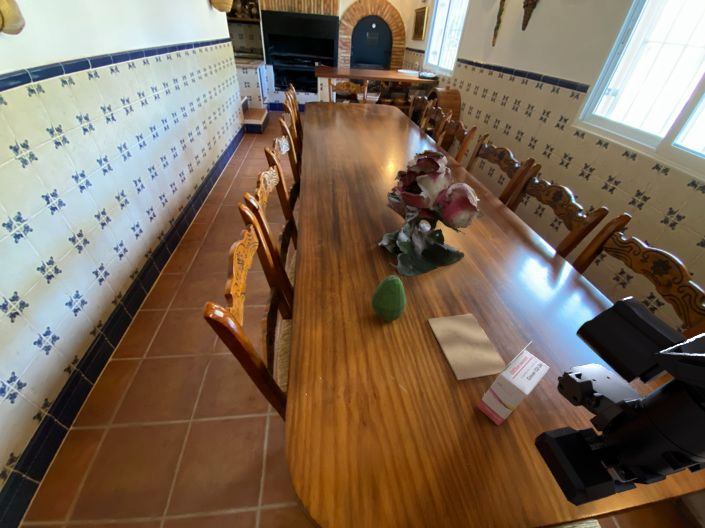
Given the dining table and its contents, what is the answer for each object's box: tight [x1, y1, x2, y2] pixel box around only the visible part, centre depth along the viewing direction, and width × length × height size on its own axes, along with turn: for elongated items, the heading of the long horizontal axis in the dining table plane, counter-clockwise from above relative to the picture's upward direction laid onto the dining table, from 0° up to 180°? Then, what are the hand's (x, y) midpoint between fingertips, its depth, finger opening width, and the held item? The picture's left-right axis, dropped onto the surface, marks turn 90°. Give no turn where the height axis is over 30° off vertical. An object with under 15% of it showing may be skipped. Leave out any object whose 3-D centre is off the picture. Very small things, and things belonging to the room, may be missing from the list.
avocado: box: [371, 274, 407, 322], centre depth 69 cm, size 8×8×12 cm
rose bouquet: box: [377, 149, 484, 277], centre depth 87 cm, size 26×29×30 cm
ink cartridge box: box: [476, 340, 550, 427], centre depth 52 cm, size 9×5×15 cm, turn 130°
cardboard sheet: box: [426, 313, 507, 382], centre depth 67 cm, size 16×12×1 cm
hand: (582, 471), depth 38 cm, fingers closed
